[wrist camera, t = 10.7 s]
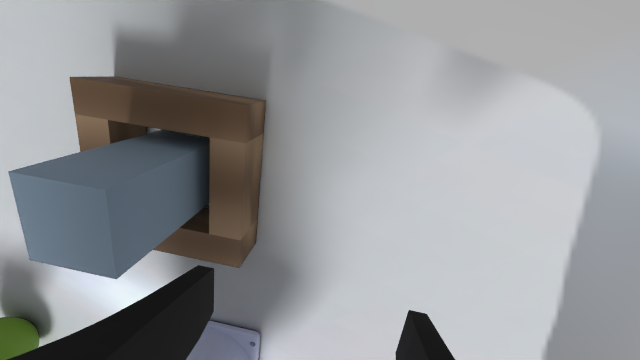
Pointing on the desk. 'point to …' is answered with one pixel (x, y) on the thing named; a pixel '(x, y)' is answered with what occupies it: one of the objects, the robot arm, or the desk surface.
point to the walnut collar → (198, 119)
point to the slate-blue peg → (111, 201)
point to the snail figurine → (16, 337)
